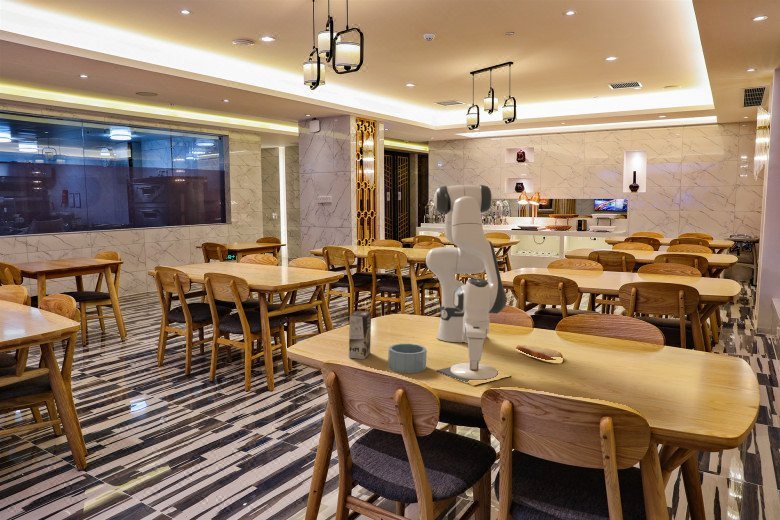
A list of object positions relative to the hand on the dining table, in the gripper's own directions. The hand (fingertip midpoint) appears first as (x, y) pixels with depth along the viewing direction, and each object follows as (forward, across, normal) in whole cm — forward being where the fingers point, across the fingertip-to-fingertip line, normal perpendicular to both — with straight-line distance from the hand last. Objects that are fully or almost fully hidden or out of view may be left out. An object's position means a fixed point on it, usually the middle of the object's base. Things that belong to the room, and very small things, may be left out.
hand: (474, 366), depth 190 cm
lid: (+2, 0, 0) cm, 2 cm away
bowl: (+3, -2, -23) cm, 24 cm away
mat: (+3, 0, 0) cm, 3 cm away
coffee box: (+3, -13, -42) cm, 44 cm away
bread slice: (+3, -28, +25) cm, 37 cm away
